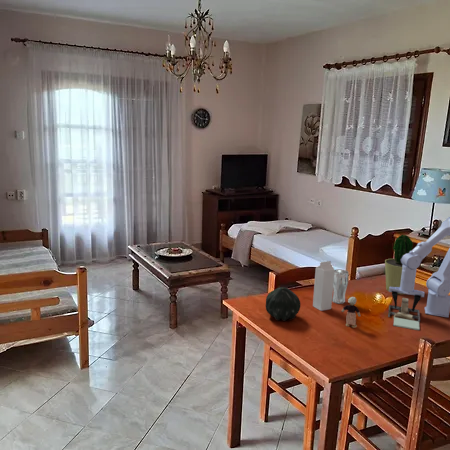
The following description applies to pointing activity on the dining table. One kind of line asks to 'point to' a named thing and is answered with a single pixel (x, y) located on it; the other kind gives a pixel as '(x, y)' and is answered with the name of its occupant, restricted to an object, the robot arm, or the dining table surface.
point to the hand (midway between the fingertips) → (404, 309)
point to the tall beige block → (404, 305)
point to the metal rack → (408, 312)
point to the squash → (282, 304)
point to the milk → (323, 286)
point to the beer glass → (340, 286)
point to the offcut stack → (404, 316)
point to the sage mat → (406, 323)
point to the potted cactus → (397, 261)
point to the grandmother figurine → (351, 312)
